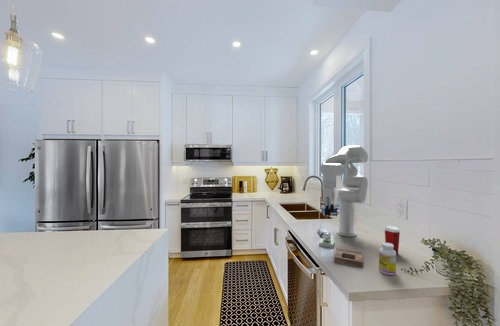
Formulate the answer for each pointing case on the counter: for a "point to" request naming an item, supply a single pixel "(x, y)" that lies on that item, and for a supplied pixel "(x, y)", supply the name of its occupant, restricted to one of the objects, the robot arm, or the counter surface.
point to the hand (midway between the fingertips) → (329, 213)
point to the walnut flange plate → (348, 256)
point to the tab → (327, 243)
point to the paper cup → (392, 236)
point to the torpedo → (320, 231)
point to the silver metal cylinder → (327, 237)
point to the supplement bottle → (387, 259)
